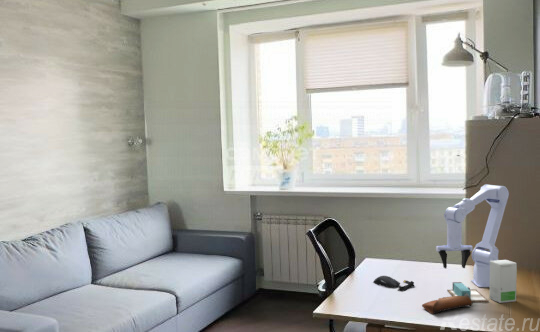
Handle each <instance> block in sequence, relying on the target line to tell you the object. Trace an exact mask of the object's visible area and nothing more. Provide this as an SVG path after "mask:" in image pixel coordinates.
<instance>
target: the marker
mask: <svg viewBox="0 0 540 332" xmlns="http://www.w3.org/2000/svg"><path fill="white" fill-rule="evenodd" d="M467 287H468V286H466V285H465V284H464V283H463V282H461V281H458V282H457V281H453V282H452V290H453V292H454V293H455V294H456V295H457V296H466V297H469V298H470V299H471V291H470V290H469V289H468V288H467Z"/></svg>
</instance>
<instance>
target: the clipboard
mask: <svg viewBox="0 0 540 332" xmlns="http://www.w3.org/2000/svg"><path fill="white" fill-rule="evenodd" d="M466 287H467V288H468V289H469V290H470V291H471V301H472V303H489V302H490V301H489V300H488V298H486V297H485V296H484V295H483V294H482V293H481V292H479V290H478V289H471V287H469V286H466ZM447 292H448V294H449V295H450V296H457V295H456V294H455V293H454V292H453V289H447Z"/></svg>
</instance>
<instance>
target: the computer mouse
mask: <svg viewBox="0 0 540 332" xmlns="http://www.w3.org/2000/svg"><path fill="white" fill-rule="evenodd" d="M372 283H373V284H375V285H378V286H384V287H387V288H390V289H391V288H398V289H397V292H406V291H407V290H408V289H410V288H414V287H415V282H414V281H413V280H411V281H409V280H406V279H404V280H403V283H404V284H405V285H404V286H400V284H401V282H400V281H398V280H397V279H394V278H393V277H390V276H387V275H380V276H378V277H376V278H375V279H374V280H373V282H372Z"/></svg>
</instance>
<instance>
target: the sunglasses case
mask: <svg viewBox="0 0 540 332" xmlns="http://www.w3.org/2000/svg"><path fill="white" fill-rule="evenodd" d="M472 305H473V302H472V301H471V299H470V298H469V297H466V296H451V295H450V296H445V297H444V296H443V297H439V298H438V299H434V300H431V301H427V302H425V303H423V304H421V307H422V308H423V309H424V310H425V311H427V312H428V313H430V314H432V315H433V314H436V313H441V312H444V311H447V310H452V309H458V308H462V307H472Z"/></svg>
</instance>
